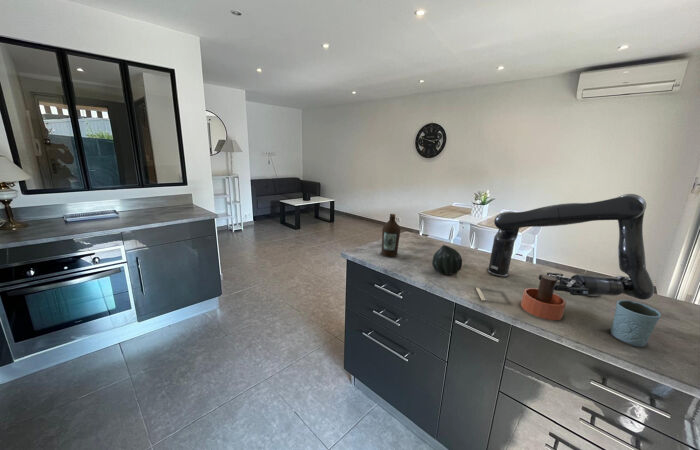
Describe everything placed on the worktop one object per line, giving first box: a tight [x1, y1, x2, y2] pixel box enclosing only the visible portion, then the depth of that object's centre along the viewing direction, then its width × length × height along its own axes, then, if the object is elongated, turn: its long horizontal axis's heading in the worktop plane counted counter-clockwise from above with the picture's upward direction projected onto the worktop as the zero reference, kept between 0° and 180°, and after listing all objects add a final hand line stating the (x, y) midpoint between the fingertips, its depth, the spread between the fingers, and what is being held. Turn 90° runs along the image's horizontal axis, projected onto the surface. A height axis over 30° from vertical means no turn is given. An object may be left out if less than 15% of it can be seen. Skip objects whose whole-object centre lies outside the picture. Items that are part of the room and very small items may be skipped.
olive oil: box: [381, 213, 401, 258], centre depth 157 cm, size 11×11×25 cm
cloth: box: [475, 287, 487, 302], centre depth 115 cm, size 11×11×1 cm
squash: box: [431, 244, 463, 276], centre depth 138 cm, size 14×15×15 cm
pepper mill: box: [536, 274, 558, 304], centre depth 103 cm, size 5×5×14 cm
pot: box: [520, 287, 567, 321], centre depth 105 cm, size 14×14×6 cm
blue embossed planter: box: [610, 299, 662, 348], centre depth 89 cm, size 10×10×12 cm
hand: (546, 282), depth 102 cm, fingers open, 8 cm apart
